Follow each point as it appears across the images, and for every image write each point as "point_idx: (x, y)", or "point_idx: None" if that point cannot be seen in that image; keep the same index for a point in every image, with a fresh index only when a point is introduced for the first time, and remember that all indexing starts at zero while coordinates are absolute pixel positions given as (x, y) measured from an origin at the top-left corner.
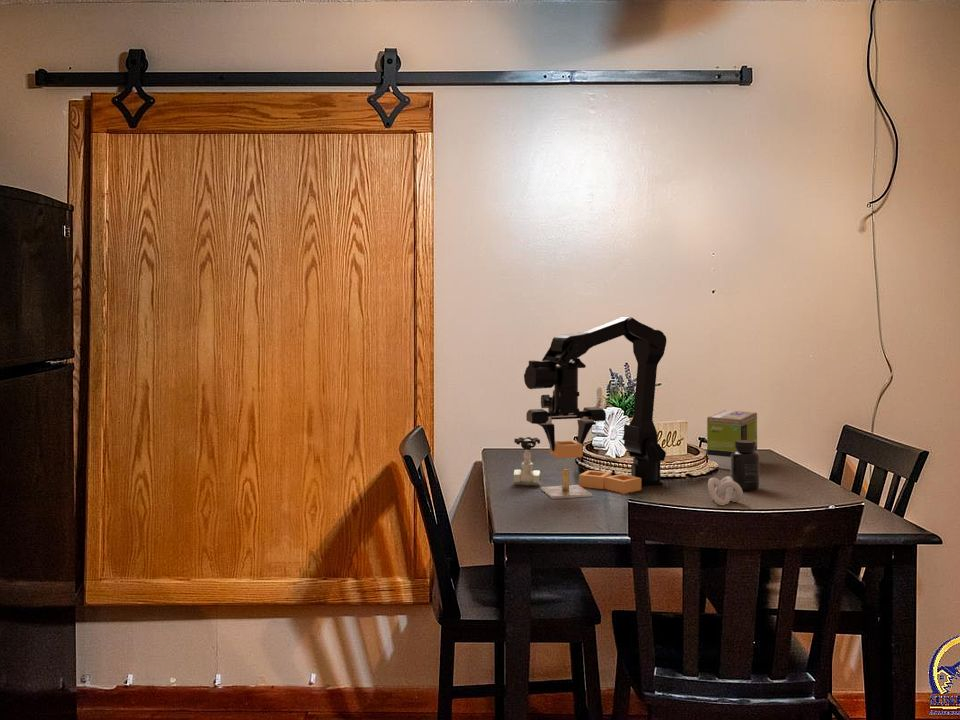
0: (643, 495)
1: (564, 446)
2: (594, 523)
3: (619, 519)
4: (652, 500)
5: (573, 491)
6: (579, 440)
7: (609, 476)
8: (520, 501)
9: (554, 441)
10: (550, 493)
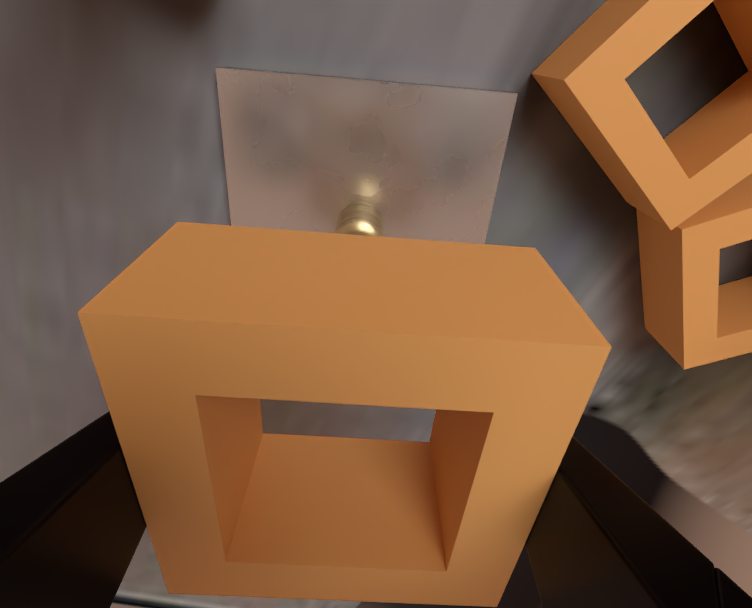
0: (705, 373)
1: (261, 586)
2: None
3: None
4: (664, 443)
5: None
6: (551, 556)
7: (732, 218)
8: (68, 311)
9: (114, 587)
10: None
